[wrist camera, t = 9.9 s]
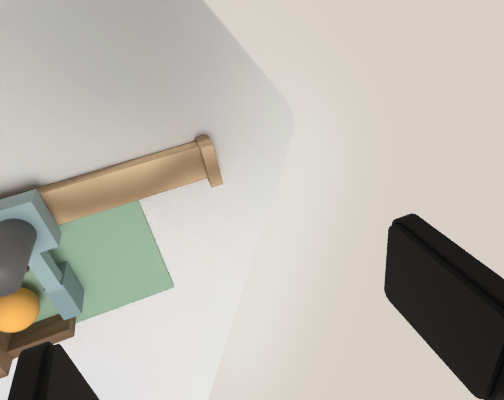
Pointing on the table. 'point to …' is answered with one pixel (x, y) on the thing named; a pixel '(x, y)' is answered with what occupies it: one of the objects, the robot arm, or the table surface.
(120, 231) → the felt mat
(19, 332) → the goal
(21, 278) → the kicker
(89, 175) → the rail
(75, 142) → the table surface
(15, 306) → the ball
